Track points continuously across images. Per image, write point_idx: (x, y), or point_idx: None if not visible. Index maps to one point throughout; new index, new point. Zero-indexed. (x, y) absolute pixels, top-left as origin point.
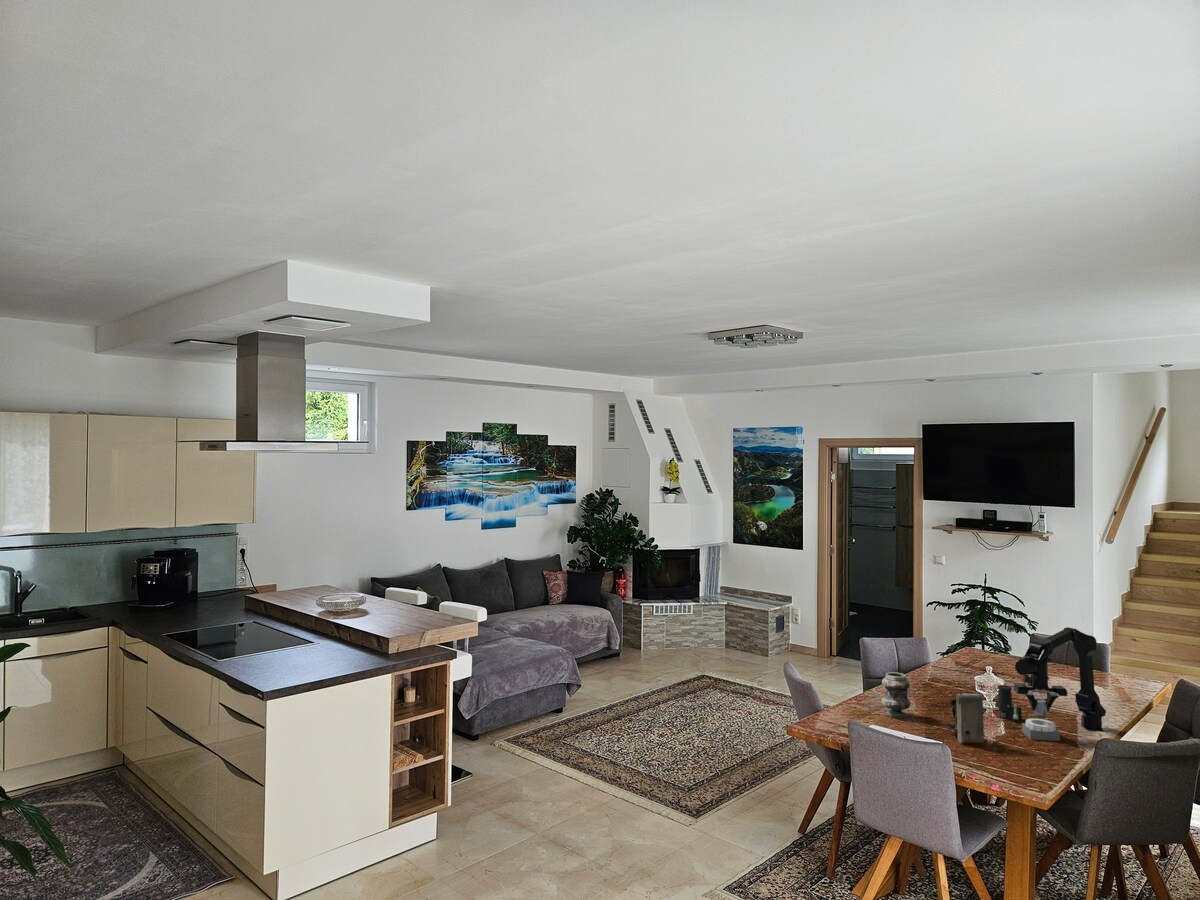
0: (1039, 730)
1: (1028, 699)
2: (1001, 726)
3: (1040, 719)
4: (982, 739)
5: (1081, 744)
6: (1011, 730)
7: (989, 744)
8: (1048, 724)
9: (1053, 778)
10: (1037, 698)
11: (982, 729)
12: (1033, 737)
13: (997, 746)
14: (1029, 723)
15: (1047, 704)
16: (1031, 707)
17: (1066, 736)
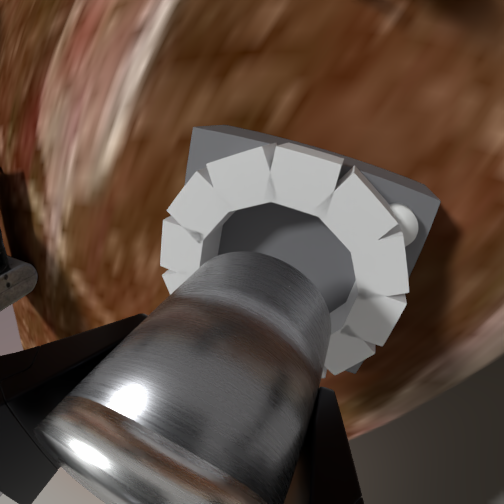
0: None
1: (7, 362)
2: (149, 33)
3: (343, 192)
4: (26, 292)
5: (427, 385)
6: (168, 106)
7: (51, 287)
8: (356, 288)
9: None
10: (93, 486)
11: (2, 308)
12: None
13: (67, 310)
14: (166, 285)
15: (293, 485)
16: (112, 326)
17: (471, 270)
